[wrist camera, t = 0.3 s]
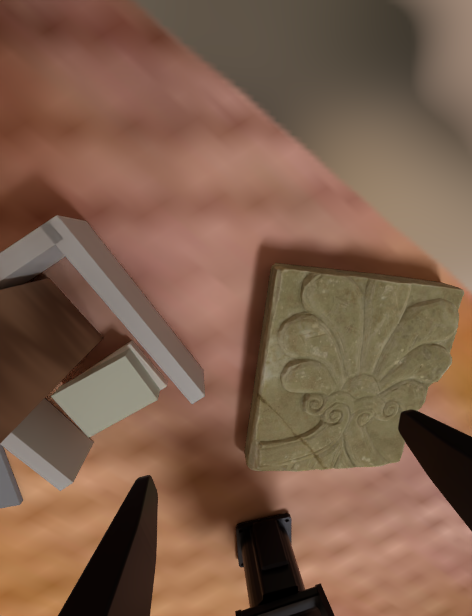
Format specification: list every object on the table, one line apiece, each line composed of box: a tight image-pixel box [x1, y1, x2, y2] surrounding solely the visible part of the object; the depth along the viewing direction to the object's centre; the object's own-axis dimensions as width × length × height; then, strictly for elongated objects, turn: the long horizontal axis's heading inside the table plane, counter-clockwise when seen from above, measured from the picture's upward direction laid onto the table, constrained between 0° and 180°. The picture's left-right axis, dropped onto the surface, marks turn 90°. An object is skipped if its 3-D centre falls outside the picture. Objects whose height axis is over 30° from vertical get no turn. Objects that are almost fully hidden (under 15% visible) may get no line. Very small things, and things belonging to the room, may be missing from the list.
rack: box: [0, 215, 205, 491], centre depth 19 cm, size 15×13×4 cm
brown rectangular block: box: [0, 278, 103, 443], centre depth 14 cm, size 6×4×12 cm, turn 32°
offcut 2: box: [51, 349, 160, 438], centre depth 20 cm, size 5×6×2 cm
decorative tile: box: [245, 263, 464, 472], centre depth 24 cm, size 19×20×4 cm
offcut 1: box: [77, 340, 168, 390], centre depth 22 cm, size 5×7×2 cm
